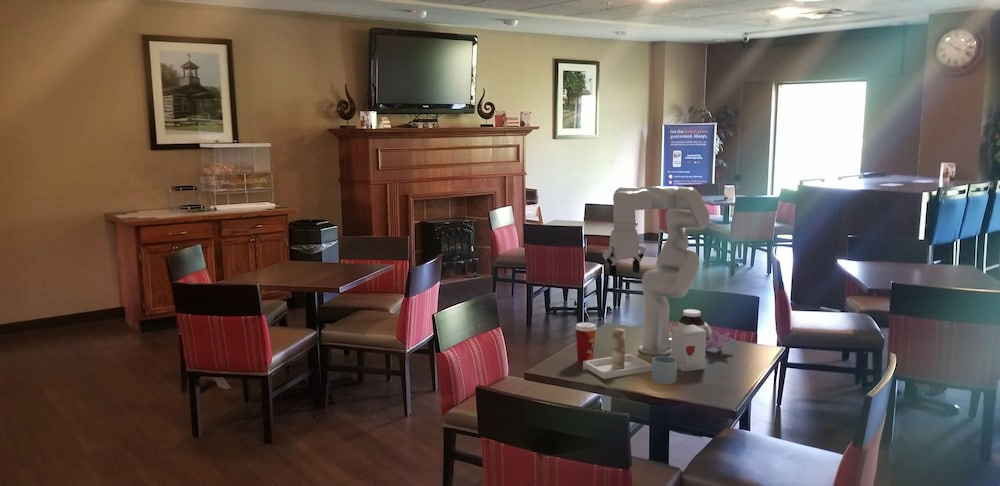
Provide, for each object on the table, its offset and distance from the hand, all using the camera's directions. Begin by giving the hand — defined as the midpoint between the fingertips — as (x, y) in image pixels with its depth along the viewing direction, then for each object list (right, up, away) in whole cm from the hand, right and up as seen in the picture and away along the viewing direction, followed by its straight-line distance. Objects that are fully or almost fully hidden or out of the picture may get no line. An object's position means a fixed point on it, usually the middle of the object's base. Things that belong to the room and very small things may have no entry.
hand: (624, 274), depth 258 cm
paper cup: (-13, -33, +10) cm, 37 cm away
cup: (+11, -36, -12) cm, 40 cm away
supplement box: (+23, -34, +1) cm, 41 cm away
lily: (+38, -31, +19) cm, 53 cm away
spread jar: (+35, -28, +38) cm, 59 cm away
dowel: (-2, -33, -1) cm, 33 cm away
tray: (-3, -34, -1) cm, 34 cm away
